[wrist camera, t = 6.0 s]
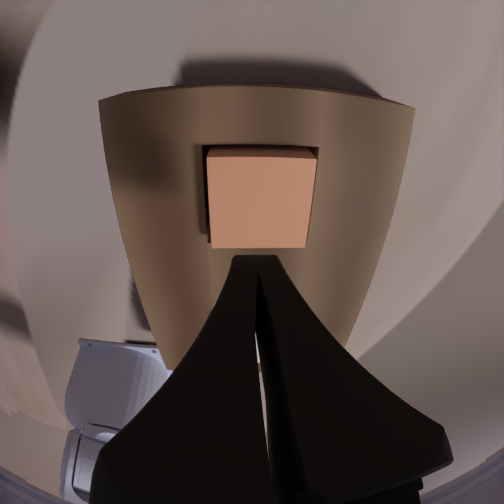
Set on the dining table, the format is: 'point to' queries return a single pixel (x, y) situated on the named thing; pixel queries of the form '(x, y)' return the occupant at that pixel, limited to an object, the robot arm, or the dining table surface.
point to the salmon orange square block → (260, 195)
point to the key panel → (197, 200)
